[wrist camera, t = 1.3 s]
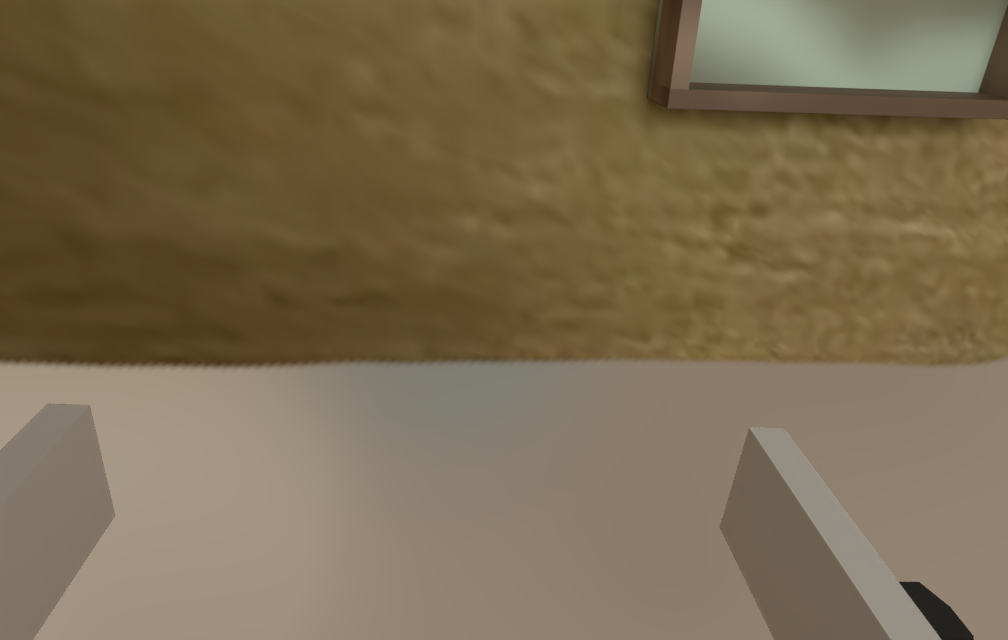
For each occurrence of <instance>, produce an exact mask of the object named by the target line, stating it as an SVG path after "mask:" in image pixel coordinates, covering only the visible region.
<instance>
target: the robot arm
mask: <svg viewBox="0 0 1008 640" xmlns="http://www.w3.org/2000/svg"><path fill="white" fill-rule="evenodd" d="M114 516H115V513H114V509H113V504H112V500H111V496H110V491H109V487H108V483H107V478H106V474H105V469H104V465H103V461H102V456H101V452H100V448H99V443H98V439H97V435H96V430H95V426H94V422H93V417H92V413H91V408H90V406H89V405H67V404H47V405H46V406H45V407H44V408H43V409H42V410H41V411H40V412H39V413H38V414H37V415H36V416H35V417H34V418H33V419H32V420H31V421H30V422H29V423H28V424H27V425H26V426H25V427H24V428H23V429H22V430H21V431H20V432H19V433H18V434H17V435H16V436H15V437H14V438H13V439H11V441H9V442H8V443H7V444H6V445H5V446H4V447H3V448H2V449H1V450H0V640H33V639H34V637H35V636H36V634H37V633H38V631H39V630H40V628H41V627H42V625H43V624H44V622H45V621H46V619H47V618H48V616H49V615H50V613H51V612H52V610H53V609H54V607H55V605H56V604H57V603H58V601H59V600H60V598H61V596H62V595H63V593H64V592H65V591H66V589H67V587H68V586H69V584H70V583H71V581H72V580H73V578H74V577H75V575H76V574H77V572H78V571H79V569H80V568H81V566H82V565H83V563H84V562H85V560H86V559H87V557H88V556H89V554H90V553H91V551H92V549H93V548H94V547H95V545H96V544H97V542H98V541H99V539H100V538H101V536H102V535H103V533H104V532H105V530H106V529H107V527H108V525H109V524H110V523H111V521H112V520H113V518H114ZM720 529H721V531H722V533H723V535H724V537H725V539H726V541H727V544H728V546H729V548H730V550H731V552H732V554H733V556H734V558H735V560H736V562H737V564H738V566H739V568H740V570H741V572H742V574H743V576H744V578H745V581H746V582H747V585H748V586H749V589H750V591H751V593H752V595H753V597H754V599H755V601H756V603H757V605H758V607H759V609H760V611H761V613H762V615H763V618H764V619H765V622H766V624H767V626H768V628H769V630H770V632H771V634H772V636H773V638H774V640H974V639H973V637H974V636H973V635H972V634H971V632H970V631H969V630H968V629H967V628H966V626H965V625H964V624H963V622H962V621H961V620H960V619H959V618H958V616H957V615H956V614H955V612H954V611H953V610H952V609H951V607H949V606H948V605H947V604H946V603H944V602H943V601H942V600H940V598H938V597H937V596H936V595H935V594H933V593H932V592H931V591H929V590H928V589H927V588H926V587H925V586H923V585H922V584H921V583H920V582H898V581H897V579H896V578H895V576H894V575H893V574H892V572H891V571H890V570H889V569H888V567H887V566H886V564H885V563H884V562H883V560H882V559H881V558H880V556H879V555H878V554H877V552H876V551H875V550H874V548H873V547H872V546H871V544H870V543H869V542H868V541H867V539H866V538H865V537H864V535H863V534H862V532H861V531H860V530H859V528H858V527H857V526H856V524H855V523H854V521H853V520H852V519H851V518H850V516H849V515H848V513H847V512H846V511H845V509H844V508H843V507H842V505H841V504H840V503H839V502H838V500H837V499H836V497H835V496H834V495H833V493H832V492H831V491H830V489H829V488H828V487H827V485H826V484H825V483H824V481H823V480H822V479H821V477H820V476H819V475H818V473H817V472H816V471H815V469H814V468H813V467H812V465H811V464H810V462H809V461H808V460H807V458H806V457H805V456H804V454H803V453H802V452H801V450H800V449H799V448H798V447H797V445H796V444H795V442H794V441H793V440H792V438H791V437H790V436H789V434H788V433H787V432H786V430H785V429H779V428H749V430H748V433H747V437H746V441H745V444H744V447H743V451H742V454H741V457H740V460H739V464H738V467H737V471H736V474H735V477H734V481H733V484H732V487H731V491H730V494H729V498H728V501H727V504H726V508H725V511H724V514H723V518H722V521H721V525H720Z"/></svg>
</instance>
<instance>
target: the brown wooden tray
mask: <svg viewBox="0 0 1008 640" xmlns="http://www.w3.org/2000/svg"><path fill="white" fill-rule="evenodd" d="M647 97H648V98H649V99H651V100H653V101H655V102H657V103H659V104H660V105H662V106H664V107H666V108H671V109H701V110H732V111H762V112H793V113H823V114H853V115H884V116H914V117H945V118H975V119H1005V120H1008V0H659V8H658V15H657V23H656V31H655V39H654V46H653V54H652V62H651V70H650V77H649V85H648V93H647Z"/></svg>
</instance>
